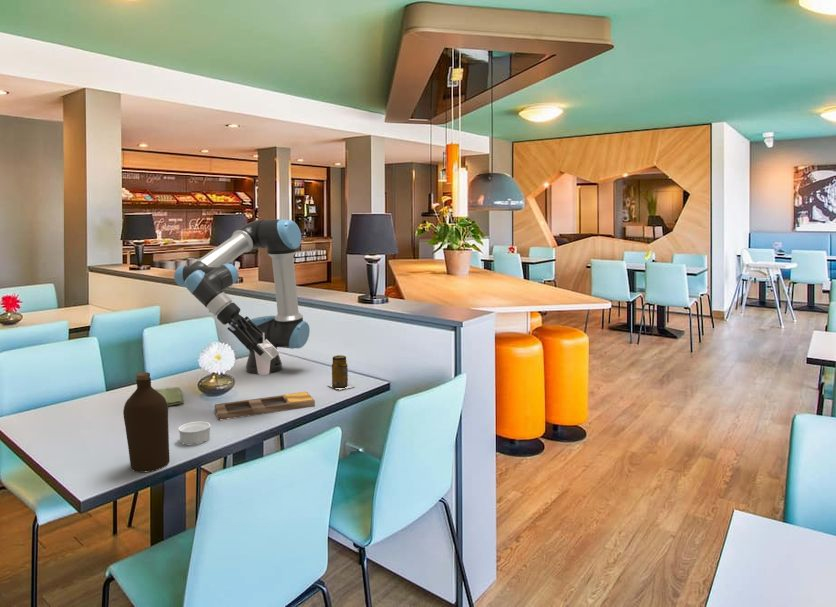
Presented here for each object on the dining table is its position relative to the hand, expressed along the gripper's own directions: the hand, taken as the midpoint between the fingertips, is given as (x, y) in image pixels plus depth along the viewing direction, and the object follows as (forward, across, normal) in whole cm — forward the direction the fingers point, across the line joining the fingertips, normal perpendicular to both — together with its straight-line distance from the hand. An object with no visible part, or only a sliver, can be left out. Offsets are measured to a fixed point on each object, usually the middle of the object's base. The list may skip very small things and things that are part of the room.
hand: (273, 357), depth 190 cm
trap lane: (+10, -2, -16) cm, 19 cm away
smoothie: (+1, 0, -6) cm, 7 cm away
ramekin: (+2, +27, -24) cm, 36 cm away
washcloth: (-17, -8, -45) cm, 49 cm away
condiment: (+25, -28, -1) cm, 37 cm away
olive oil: (-1, +44, -27) cm, 52 cm away
